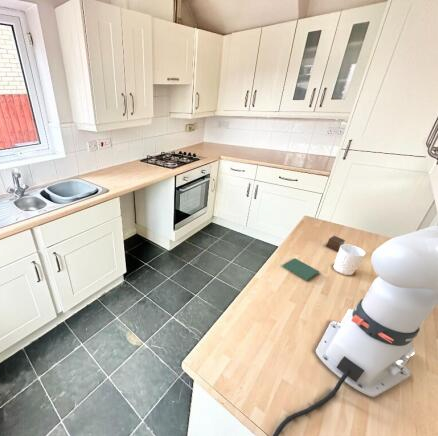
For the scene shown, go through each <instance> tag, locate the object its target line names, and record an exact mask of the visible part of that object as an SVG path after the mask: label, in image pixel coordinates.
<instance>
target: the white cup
mask: <svg viewBox="0 0 438 436" xmlns="http://www.w3.org/2000/svg"><path fill="white" fill-rule="evenodd" d="M365 256H366V251H365V250H364V249H362V248H361V247H359V246H356V245H355V244H347V243H344V244H343V245H341V246H340V249H339V250H338V251H337V254H336V256H335V260H334V264H333V269H334V270H335V271H336V272H337V273H339V274H341V275H346V276H352V275H354V274H355V271H356V270H357V269H358V268H359V265H360V264H361V263H362V261H363V260H364V258H365Z"/></svg>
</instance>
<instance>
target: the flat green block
mask: <svg viewBox="0 0 438 436" xmlns="http://www.w3.org/2000/svg"><path fill="white" fill-rule="evenodd" d="M282 267H283V268H284V269H286V270H287V271H289V272H291V273H292V274H294V275H296V276H298V277H300V278H301V279H303V280H304V281H306V282H308V281H310V280H311V279H313V278H314V277H315V276H317V275H318V274H319V273H320V271H319V270H318V269H316V268H314V267H312V266H310V265H308V264H307V263H305V262H303V261H301V260H299V259H297V258H293V259H291V260H289V261H287V262H285V263H283V265H282Z"/></svg>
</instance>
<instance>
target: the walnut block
mask: <svg viewBox="0 0 438 436" xmlns="http://www.w3.org/2000/svg"><path fill="white" fill-rule="evenodd" d="M345 241H346V239H343V238H341V237H339V236H336V235H332V236H331V237H328V240H327V242H326V245H325V247H326V248H328V249H331V250H333V251H335V252H338V251H339V249H340V246H341V245H343V244H345Z"/></svg>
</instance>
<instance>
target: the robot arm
mask: <svg viewBox="0 0 438 436" xmlns="http://www.w3.org/2000/svg"><path fill="white" fill-rule="evenodd" d="M370 262H371V266H372V267H371V268H372V269H373V271H374V272H375V274H376V275H377V277H376V278H374V280H373V281H372V283H371V285H370V287H369V289H368V290H367V292H366V294H365V295H364V297H363V298H361V299H360V300H359V302H358V303H357V304H356V305H355V308H348V309H347V311H346V313H345V315H344V317H343V318H342V320H341V322H339V321H335V320H332V321H331V322H330V323H329V324H328V326H327V328H326V330H325V332H324V334H323V335H322V337H321V340H320V341H319V343H318V345H317V347H316V349H315V354H316V356H317V357H318V358H319V360H320V361H321V362H322V363H323V364H324V365H325V366H326V367H327V368H328V369H329V370H330V371H331V372H332V373H333V374H334V375H336V376H337V377H338V378H339V380H338V381H337V382H336V384H335V386H334V387H333V389H332V390H331V391H330V392H329V393H328V394H327V395H326V396H325V397H323V398H322V399H320V400H319V401H317V402H315V403H314V404H312V405H310V406H309V407H306V408H304V409H301V410H300V411H296V412H294V413H292V414H291V415H288V416H287V417H286V418H285V419H283V420H282V421H281V422H280V423H279V425H278V426H277V427H276V429H275V430H274V433H273V435H272V436H280V433H281V432H282V430H284V428H285V427H286V426H287V425H288V424H289V423H290V422H292V421H293V420H295V419H297V418H300V417H302V416H305V415H307V414H309V413H312V412H313V411H315V410H316V409H318V408H320V407H321V406H323V405H325V404H326V403H327V402H329V401H330V400H331V399H332V398H333V397H334V396H335V395H336V394H337V393H338V392H339V390H340V388H341V387H342V385H343V384H344V382H345V383H346V384H347V385H348V386H350V387H351V388H353V389H354V390H356V391H358V392H360V393H362V394H363V395H366V396H368V397H370V398H376V397H377V396H380V395H381V394H383V393H384V392H386V391H388V390H390V389H392V388H393V387H395V386H396V385H399V384H400V383H402V382H403V381H405V380H407V379H409V378H410V376H411V375H412V374H411V371H410V369H409V368H408V367H407V366H406V365H405V364H408V363H409V362H410V361H411V359H410V358H411V357H412V356H413V355H415V351H416V348H415V346H414V344H413V340H415V338H417V336H418V334H419V332H420V328H421V325H422V324H423V323H424V322H425V321H426V319H427V318H428V316H430V314H431V313H432V312H433V311H434V310H435V308H436V307H437V306H438V225H431V226H428V227H425V228H421V229H418V230H415V231H412V232H409V233H407V234H401V235H398V236H395V237H393V238H390V239H389V240H387V241H385V242H383V243H381V245H380V246H378V247H377V248H376V249H375V250H374V251H373V252H372V254H371V259H370Z"/></svg>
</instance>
